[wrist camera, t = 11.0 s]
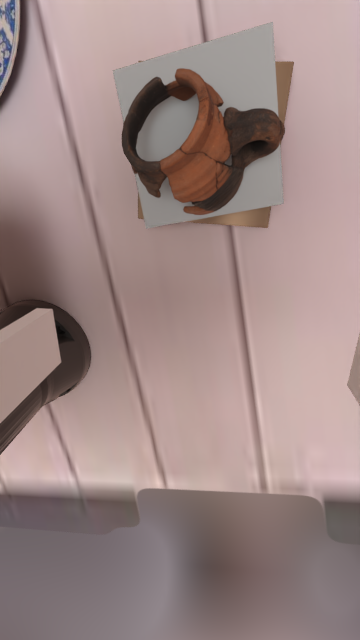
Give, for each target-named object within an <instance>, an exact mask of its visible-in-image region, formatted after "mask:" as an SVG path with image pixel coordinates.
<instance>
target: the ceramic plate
mask: <svg viewBox="0 0 360 640" xmlns="http://www.w3.org/2000/svg"><path fill="white" fill-rule="evenodd" d="M19 30H20V0H0V96H1V94H2V93H3V91H4V89H5V86H6V84H7V82H8V80H9V77H10V75H11V72H12V68H13V64H14V61H15V57H16V53H17V47H18V41H19Z"/></svg>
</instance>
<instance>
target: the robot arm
mask: <svg viewBox="0 0 360 640" xmlns="http://www.w3.org/2000/svg"><path fill="white" fill-rule="evenodd" d="M90 358H91V356H90V347H89V344H88V341H87V338H86V336H85V334H84V332H83V330H82V329H81V327H80V326H79V325H78V323H77V322H76V321H75V320H74V319H73V318H72V317H71V316H70V315H69V314H67V313H66V312H65V311H63V310H62V309H60V308H58V307H56V306H54V305H52V304H50V303H47V302H43V301H38V300H26V301H21V302H17V303H15V304H13V305H11V306H9V307H7V308H5V309H3V310H2V311H0V455H1V453H2V452H3V451H4V450H5V449H6V448H7V446H8V445H9V444H10V443H11V442H12V441H13V439H14V438H15V437H16V436H17V435H18V434H19V433H20V431H21V430H22V429H23V428H24V427H25V426H26V424H27V423H28V422H29V421H30V420H31V419H32V417H33V416H34V415H35V414H36V413H37V412H38V411H39V410H40V408H41V407H42V406H44V405H45V404H47V403H49V402H51V401H53V400H55V399H57V398H58V397H60V396H63V395H65V394H67V393H69V392H70V391H72V390H73V389H74V388H75V387H76V386H77V385H78V384H79V383H80V381H81V380H82V379H83V378H84V376H85V375H86V373H87V371H88V369H89V365H90ZM347 385H348V387H349V389H350V390H351V392H352V394H353V395H354V397H355V398H356V400H357V402H358V403H359V405H360V334H359V338H358V343H357V347H356V351H355V355H354V359H353V363H352V367H351V372H350V376H349V380H348V384H347Z"/></svg>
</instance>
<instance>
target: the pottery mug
mask: <svg viewBox="0 0 360 640" xmlns="http://www.w3.org/2000/svg"><path fill="white" fill-rule="evenodd" d="M175 79H176V80H175V81H173V82H171V83H169V84H167V85H164V84H163V82H162V80H161V78H159V77H154V78H153V79H152V80H151V81H149V82H148V83H147V84H146V85H145V86H144V87H143V89H142V90H141V91H140V92H139V93H138V95H137V96H136V97H135V99H134V100H133V102H132V104H131V106H130V108H129V111H128V114H127V116H126V118H125V121H124V125H123V131H122V147H123V151H124V154H125V155H126V157H127V159H128V160H129V162H130V163H131V165H132V169H133V171H134V173H135V174H137V173H138V176H139V178H140V181H141V182H142V184H143V185H144V186H145V187H146V189H147V191H148V193H149V194H151V195H153V196H155V197H157V198H160V197H161V193H160V190H159V189H160V188H161V185H162V183H163V181H164V180H165V179H166V178H167V177H168V180H169V185H170V187H171V191H172V193H173V197H174V199H176V200H178V201H179V202H182V203H187V202H192V204H193V205H195V206H185V207H184V209H183V210H184V212H186V213H189V214H194V215H205V214H209V213H212V212H214V211H217V210H219V209H221V208H222V207H223V206H225V205H226V204H227V203H228V202H229V201H230V200H231V199H232V198H233V197H234V196H235V194H236V193H237V191H238V189H239V187H240V185H241V182H242V179H243V174H244V170H245V167H247V166H248V165H249V164H250V163H252V162H253V161H255V160H257V159H259V158H262V157H265V156H267V155H269V154H271V153H273V152H274V151H275V150H276V149H277V148H278V146H279V144H280V142H281V140H282V138H283V135H284V133H285V127H284V124H283V123H282V122H281V120H280V119H279V117H278V116H277V114H276V113H275V112H274V111H272V110H269V109H265V108H255V109H250V110H247V111H239V110H238V109H236V108H234V107H229V108H227V109H226V110H225V112H224V117H223V115H222V113H221V111H219V109H218V107H220V106H222V105H223V103H224V102H223V100H222V98H221V97H220V95H219V94H218V93H217V92H216V91H215V90H214V88H213V87H212V86H210V85H209V84H208V83H206V82H204V80H203V78H202V77H201V76H200V75H199V74H197V73H196V72H194V71H192V70H191V69H184V68H179V69H177V70H176V73H175ZM195 94H197V97H198V101H199V110H198V115H197V118H196V121H195V124H194V127H193V129H192V131H191V133H190V134H189V136H188V138H187V139H186V140H185V142H184V143H183V144H182V145H181V147H180V148H179V149H177V150H176V151H175V152H174V153H172V154H171V155H169V156H167V157H166V158H164V159H161V160H160V161H145V160H143V159H141V158H140V157H139V156H138V154H137V151H136V144H137V139H138V133H139V132H140V131H141V129H142V127H143V124H144V122H145V120H146V118H147V117H148V115H149V114H150V112H151V111H152V110H153V109H154V108H155V107H156V106H157V105H158V104H160V103H161V102H163V101H164V100H166V99H167V98H169V97H170V96H173V97H175V98H177V99H180V100H182V101H186V100H188V99H189V98H191V97H192V96H194V95H195ZM231 154H232V156H231V158H232V165H227V164H225V161H227V160H228V159H229V157H230V155H231Z"/></svg>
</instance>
